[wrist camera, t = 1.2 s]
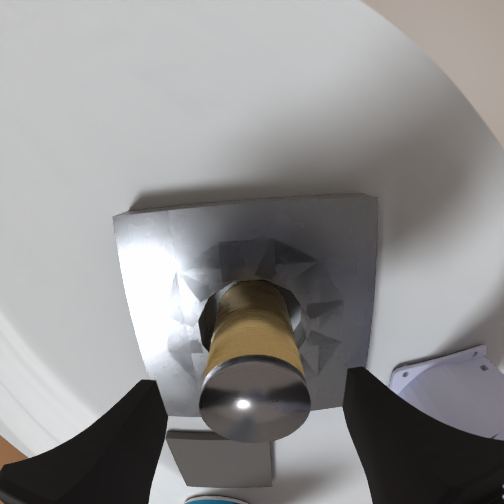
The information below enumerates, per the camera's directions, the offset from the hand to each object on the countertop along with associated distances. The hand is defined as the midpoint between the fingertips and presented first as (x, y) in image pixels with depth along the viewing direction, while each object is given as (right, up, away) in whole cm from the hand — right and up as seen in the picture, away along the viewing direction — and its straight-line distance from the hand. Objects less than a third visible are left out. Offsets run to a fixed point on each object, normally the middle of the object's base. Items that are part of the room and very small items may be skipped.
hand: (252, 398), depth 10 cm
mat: (-2, -12, +11) cm, 17 cm away
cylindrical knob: (0, +2, +7) cm, 7 cm away
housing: (0, +2, +7) cm, 7 cm away
